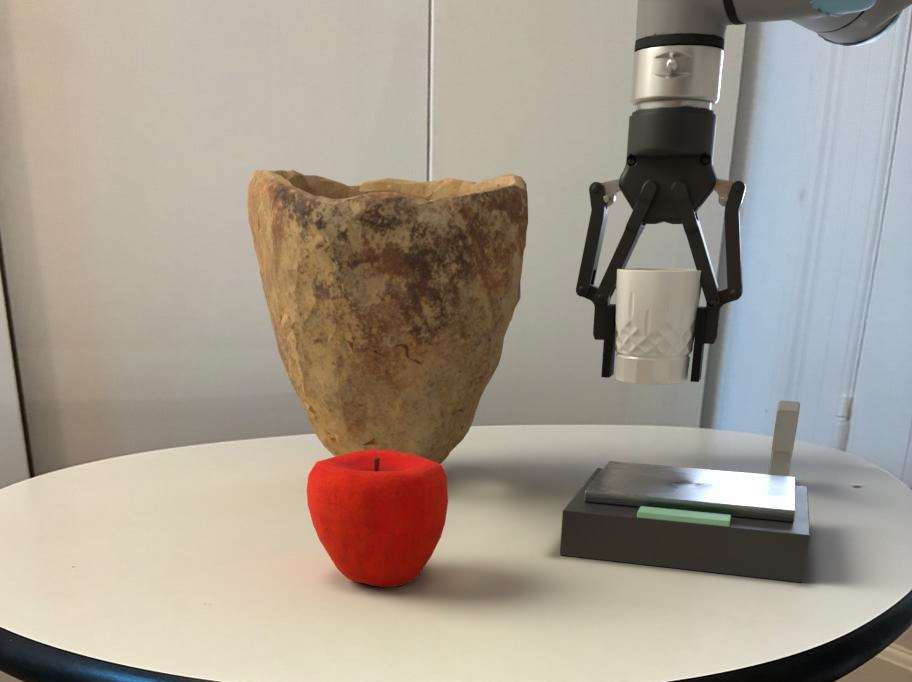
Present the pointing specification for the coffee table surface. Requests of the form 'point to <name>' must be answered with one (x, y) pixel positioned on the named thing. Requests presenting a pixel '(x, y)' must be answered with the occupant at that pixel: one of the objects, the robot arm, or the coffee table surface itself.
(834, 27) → the robot arm
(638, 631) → the coffee table surface
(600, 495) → the scale pan
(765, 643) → the coffee table surface
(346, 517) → the apple
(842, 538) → the coffee table surface
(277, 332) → the brown clay pot
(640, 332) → the white cup
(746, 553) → the scale
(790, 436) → the beige upright slab
